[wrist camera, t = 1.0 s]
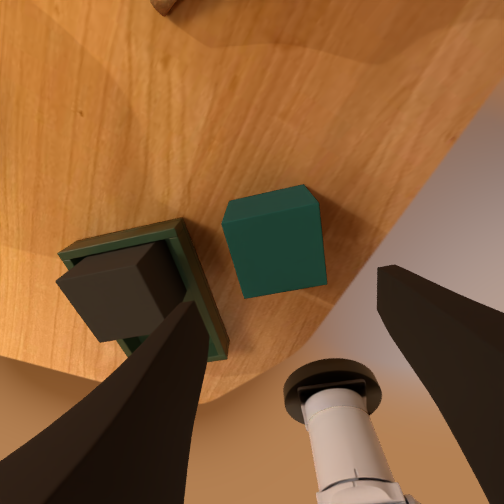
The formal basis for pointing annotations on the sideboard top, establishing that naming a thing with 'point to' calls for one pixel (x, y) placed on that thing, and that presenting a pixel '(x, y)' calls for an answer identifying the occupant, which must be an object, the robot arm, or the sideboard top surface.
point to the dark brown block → (124, 290)
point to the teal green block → (276, 241)
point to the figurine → (163, 6)
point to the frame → (185, 264)
